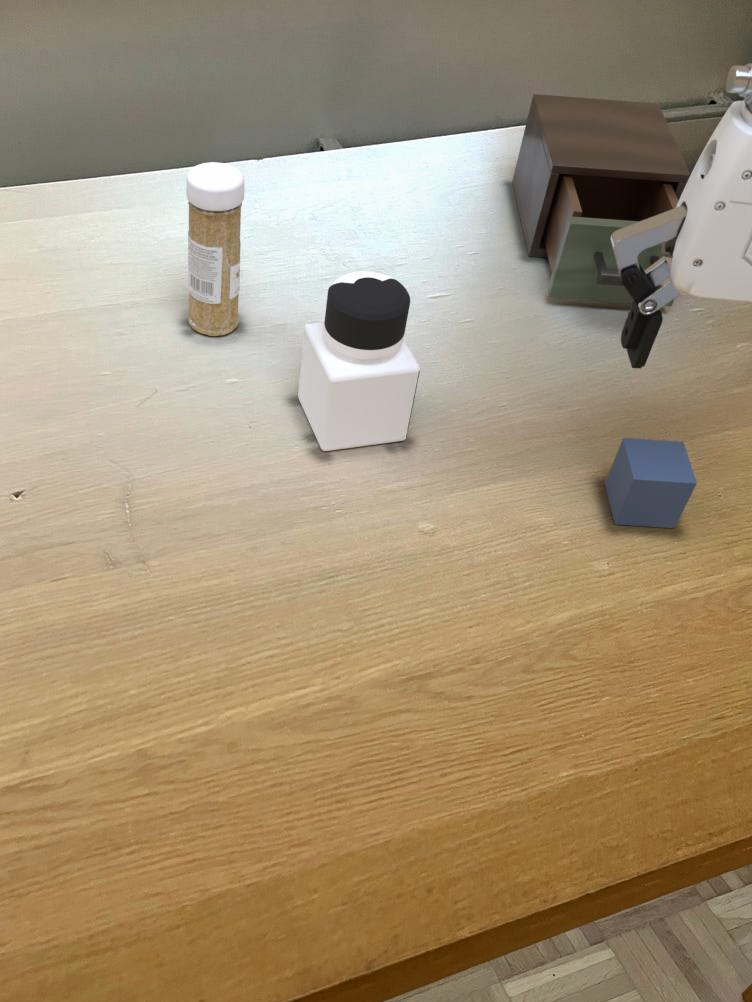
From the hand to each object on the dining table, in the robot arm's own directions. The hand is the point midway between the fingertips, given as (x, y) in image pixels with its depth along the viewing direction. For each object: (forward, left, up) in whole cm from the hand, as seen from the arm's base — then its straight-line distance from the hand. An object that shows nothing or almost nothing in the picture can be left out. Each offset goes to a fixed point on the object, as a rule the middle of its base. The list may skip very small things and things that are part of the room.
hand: (703, 360), depth 70 cm
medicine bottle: (+22, -8, -13) cm, 27 cm away
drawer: (-2, -31, -12) cm, 33 cm away
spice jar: (+34, -20, -13) cm, 42 cm away
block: (0, 0, -13) cm, 13 cm away
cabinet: (-2, -42, -13) cm, 44 cm away
